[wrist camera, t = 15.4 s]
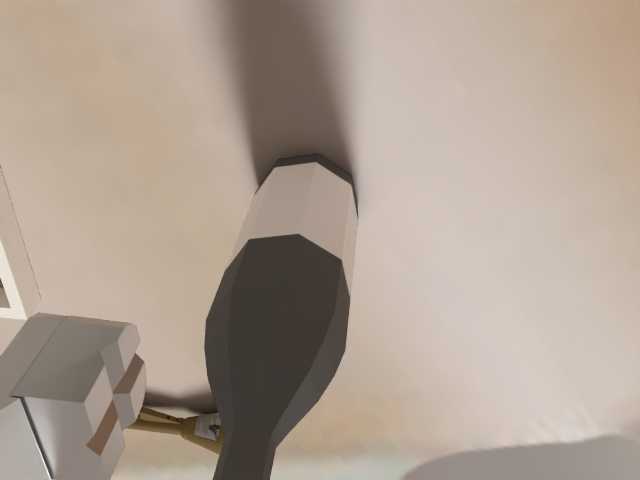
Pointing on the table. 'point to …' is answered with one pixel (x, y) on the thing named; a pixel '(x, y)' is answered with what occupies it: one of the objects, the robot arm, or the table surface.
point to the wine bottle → (281, 310)
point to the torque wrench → (184, 427)
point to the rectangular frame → (14, 265)
